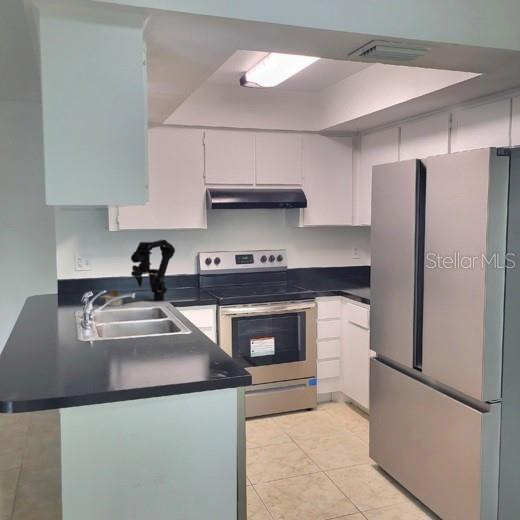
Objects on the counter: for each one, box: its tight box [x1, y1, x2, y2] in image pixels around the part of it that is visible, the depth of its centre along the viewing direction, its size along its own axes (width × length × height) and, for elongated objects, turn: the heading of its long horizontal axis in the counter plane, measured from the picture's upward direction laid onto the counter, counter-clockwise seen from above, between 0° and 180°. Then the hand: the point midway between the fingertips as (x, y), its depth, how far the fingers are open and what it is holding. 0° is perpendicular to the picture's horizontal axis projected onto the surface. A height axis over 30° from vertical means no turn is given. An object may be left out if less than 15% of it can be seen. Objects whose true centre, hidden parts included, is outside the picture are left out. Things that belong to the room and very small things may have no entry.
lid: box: [98, 288, 122, 300], centre depth 328 cm, size 13×13×5 cm
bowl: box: [105, 298, 123, 306], centre depth 328 cm, size 10×10×5 cm
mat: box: [122, 300, 158, 308], centre depth 329 cm, size 17×17×1 cm
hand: (145, 285), depth 330 cm, fingers open, 9 cm apart
